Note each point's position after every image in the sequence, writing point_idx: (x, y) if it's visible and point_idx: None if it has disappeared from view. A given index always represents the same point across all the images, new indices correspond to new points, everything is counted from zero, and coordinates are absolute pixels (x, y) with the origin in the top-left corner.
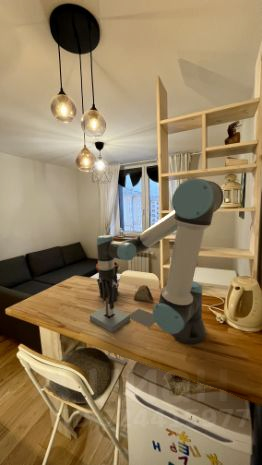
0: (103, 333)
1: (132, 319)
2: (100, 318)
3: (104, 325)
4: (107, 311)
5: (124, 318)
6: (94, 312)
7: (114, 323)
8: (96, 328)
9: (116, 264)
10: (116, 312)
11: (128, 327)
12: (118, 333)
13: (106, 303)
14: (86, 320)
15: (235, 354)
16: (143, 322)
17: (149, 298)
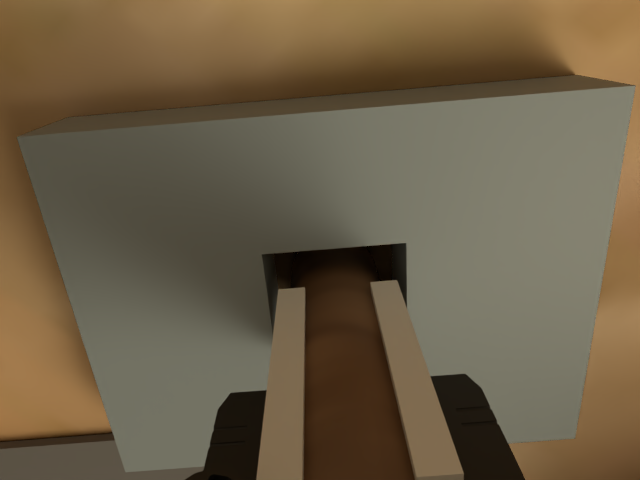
0: (151, 25)
1: None
2: (377, 158)
3: (218, 113)
4: (329, 321)
5: (100, 391)
6: (611, 195)
7: (84, 228)
8: (332, 23)
9: None
10: None
11: (47, 327)
12: (17, 175)
13: (359, 450)
14: (632, 34)
15: None
16: (6, 474)
17: None
